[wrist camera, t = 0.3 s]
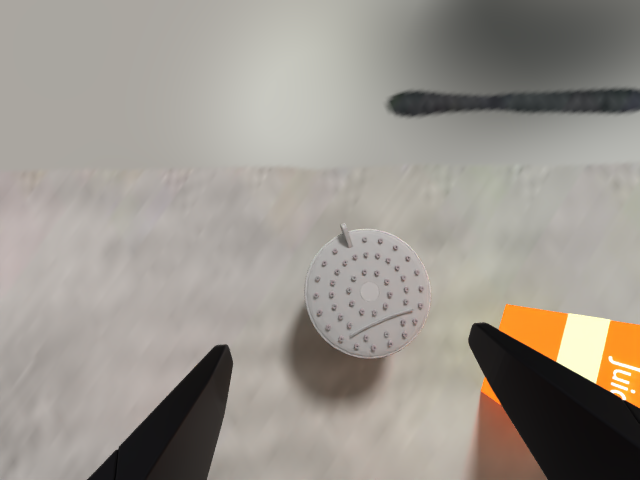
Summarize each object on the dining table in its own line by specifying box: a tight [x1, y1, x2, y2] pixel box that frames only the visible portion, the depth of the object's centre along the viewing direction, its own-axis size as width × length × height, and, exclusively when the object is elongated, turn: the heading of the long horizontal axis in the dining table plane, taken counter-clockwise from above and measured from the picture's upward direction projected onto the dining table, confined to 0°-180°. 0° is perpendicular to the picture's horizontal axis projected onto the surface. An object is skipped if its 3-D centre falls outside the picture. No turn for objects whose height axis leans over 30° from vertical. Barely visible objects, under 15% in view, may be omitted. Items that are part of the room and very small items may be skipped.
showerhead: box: [304, 224, 431, 359], centre depth 20 cm, size 9×7×10 cm
